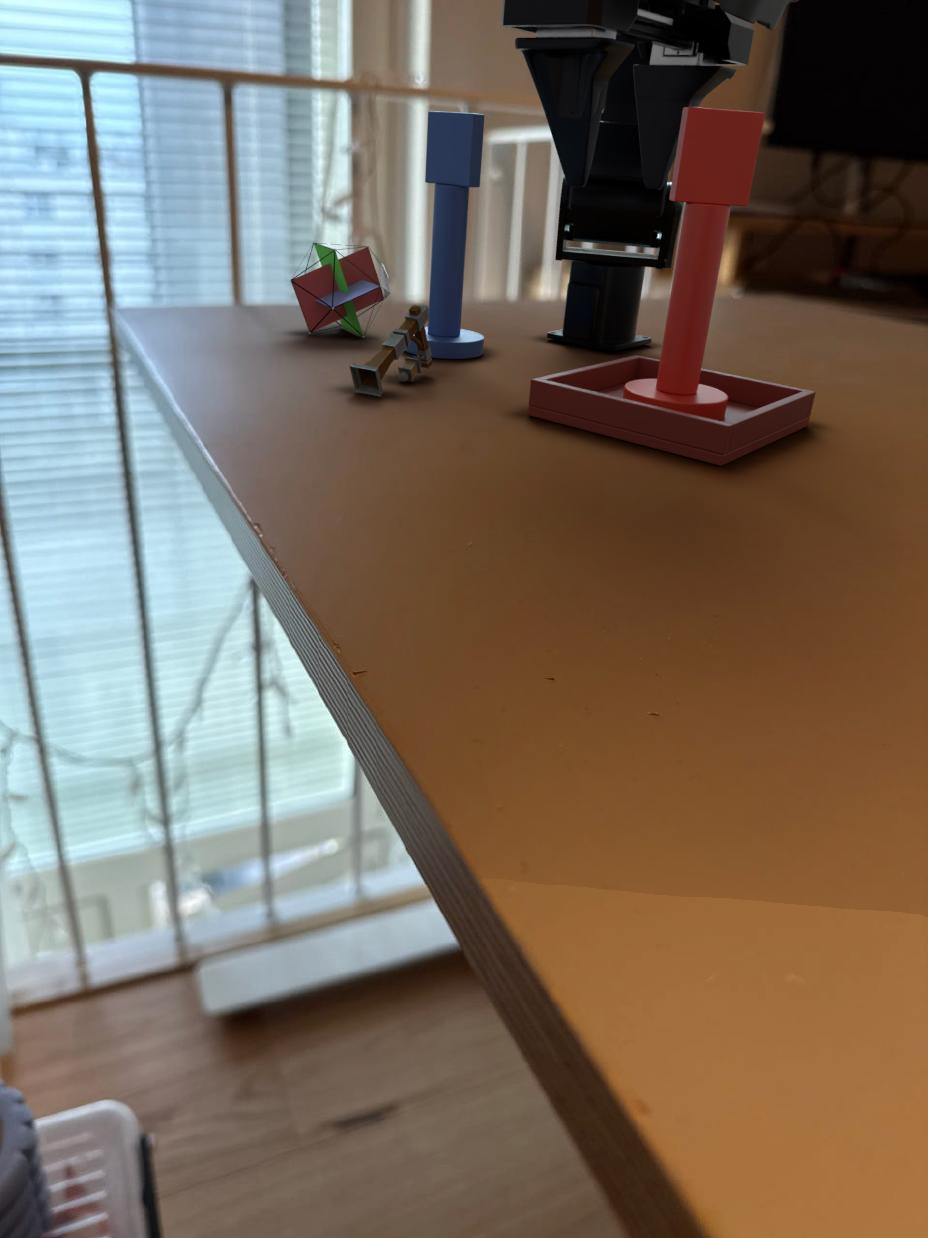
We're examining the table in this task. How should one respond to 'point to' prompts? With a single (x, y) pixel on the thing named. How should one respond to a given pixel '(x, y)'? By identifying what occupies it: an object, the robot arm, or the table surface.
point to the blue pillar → (451, 228)
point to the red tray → (602, 409)
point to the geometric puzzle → (339, 289)
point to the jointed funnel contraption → (396, 354)
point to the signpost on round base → (700, 251)
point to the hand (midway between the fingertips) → (617, 187)
